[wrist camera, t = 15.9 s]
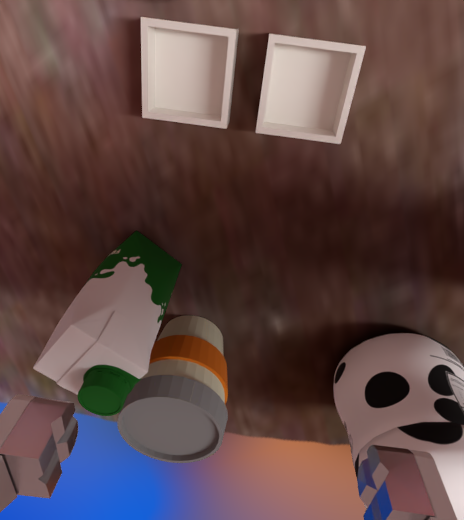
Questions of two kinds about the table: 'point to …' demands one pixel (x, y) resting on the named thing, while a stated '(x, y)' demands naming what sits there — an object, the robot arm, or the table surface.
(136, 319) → the milk carton
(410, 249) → the table surface
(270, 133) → the white open square tray
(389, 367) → the milk container
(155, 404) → the reusable coffee cup
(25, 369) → the table surface
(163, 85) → the white square cubby
